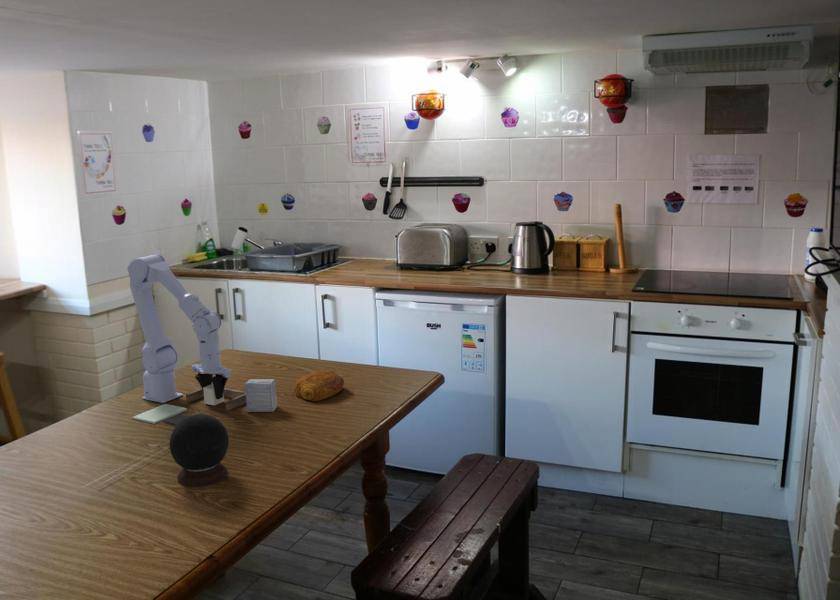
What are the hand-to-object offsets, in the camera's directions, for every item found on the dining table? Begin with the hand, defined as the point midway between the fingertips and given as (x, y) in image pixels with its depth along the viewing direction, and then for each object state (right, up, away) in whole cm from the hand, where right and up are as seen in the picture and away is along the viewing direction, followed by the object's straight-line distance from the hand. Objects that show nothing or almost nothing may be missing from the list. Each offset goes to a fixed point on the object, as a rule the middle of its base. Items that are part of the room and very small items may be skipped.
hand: (213, 397), depth 225 cm
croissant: (+31, 0, +7) cm, 31 cm away
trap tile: (-6, -5, -13) cm, 15 cm away
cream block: (0, -2, 0) cm, 2 cm away
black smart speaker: (+11, -12, -49) cm, 52 cm away
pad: (-13, -4, -8) cm, 16 cm away
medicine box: (+16, -3, -6) cm, 17 cm away
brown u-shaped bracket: (+1, -2, +2) cm, 3 cm away
